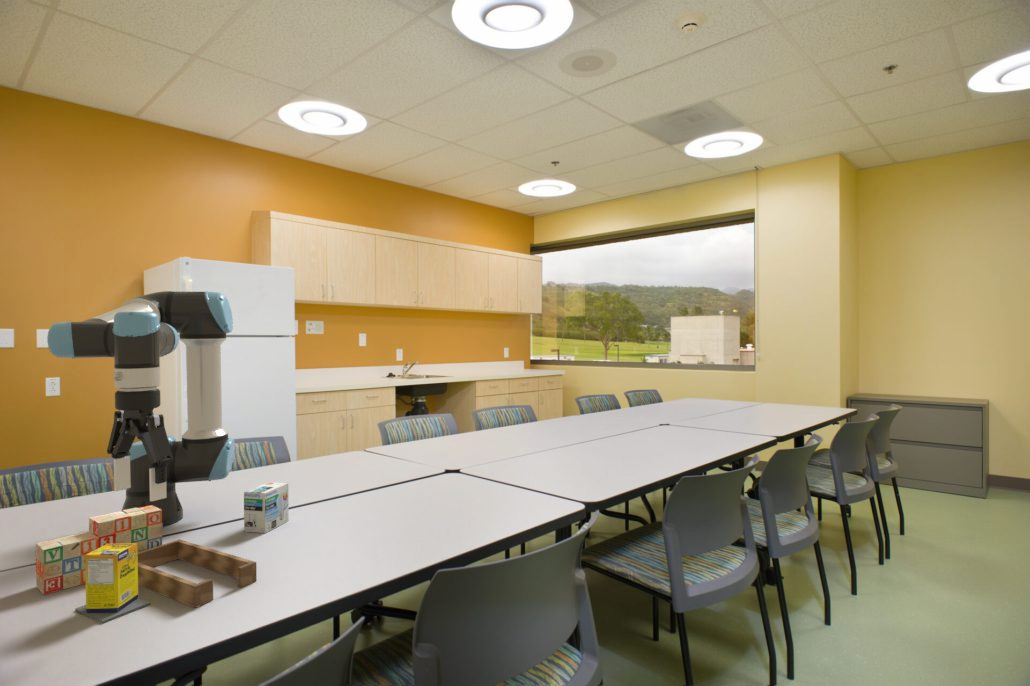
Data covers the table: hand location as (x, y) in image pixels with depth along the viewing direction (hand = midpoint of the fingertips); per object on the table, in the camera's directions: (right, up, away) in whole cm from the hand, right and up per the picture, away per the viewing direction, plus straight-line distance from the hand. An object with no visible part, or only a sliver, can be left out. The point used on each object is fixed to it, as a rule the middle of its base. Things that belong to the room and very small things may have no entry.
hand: (139, 494), depth 110 cm
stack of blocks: (-15, -20, +10) cm, 27 cm away
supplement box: (-1, -20, -5) cm, 21 cm away
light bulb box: (+8, -20, +40) cm, 45 cm away
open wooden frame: (+5, -20, +7) cm, 22 cm away
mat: (-1, -20, -6) cm, 21 cm away
